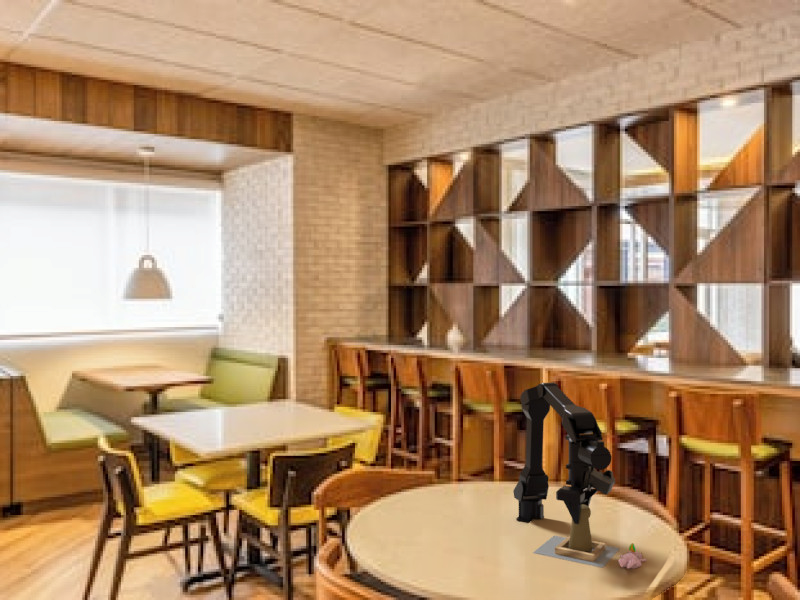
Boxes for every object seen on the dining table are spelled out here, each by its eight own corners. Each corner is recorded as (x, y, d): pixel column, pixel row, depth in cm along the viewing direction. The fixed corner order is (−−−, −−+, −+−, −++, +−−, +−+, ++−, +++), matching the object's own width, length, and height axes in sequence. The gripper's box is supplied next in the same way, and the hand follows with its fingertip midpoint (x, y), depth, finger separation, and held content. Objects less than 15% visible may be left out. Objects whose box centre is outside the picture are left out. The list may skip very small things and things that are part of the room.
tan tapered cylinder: (593, 552, 173) (593, 509, 172) (568, 551, 174) (568, 508, 174) (591, 544, 178) (591, 502, 178) (568, 542, 180) (567, 500, 180)
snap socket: (554, 553, 175) (554, 547, 175) (568, 541, 183) (568, 536, 183) (593, 561, 169) (593, 555, 169) (605, 549, 177) (605, 543, 177)
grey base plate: (532, 556, 175) (532, 552, 175) (554, 539, 188) (554, 535, 188) (602, 571, 165) (602, 567, 165) (620, 552, 178) (620, 548, 178)
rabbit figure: (623, 561, 175) (611, 572, 162) (624, 537, 176) (611, 546, 163) (649, 566, 172) (638, 577, 159) (649, 541, 173) (639, 551, 160)
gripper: (599, 472, 164) (600, 537, 164) (621, 456, 179) (622, 516, 179) (555, 466, 170) (555, 529, 170) (580, 451, 185) (580, 508, 186)
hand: (580, 520), depth 176 cm, fingers closed on tan tapered cylinder, 5 cm apart
